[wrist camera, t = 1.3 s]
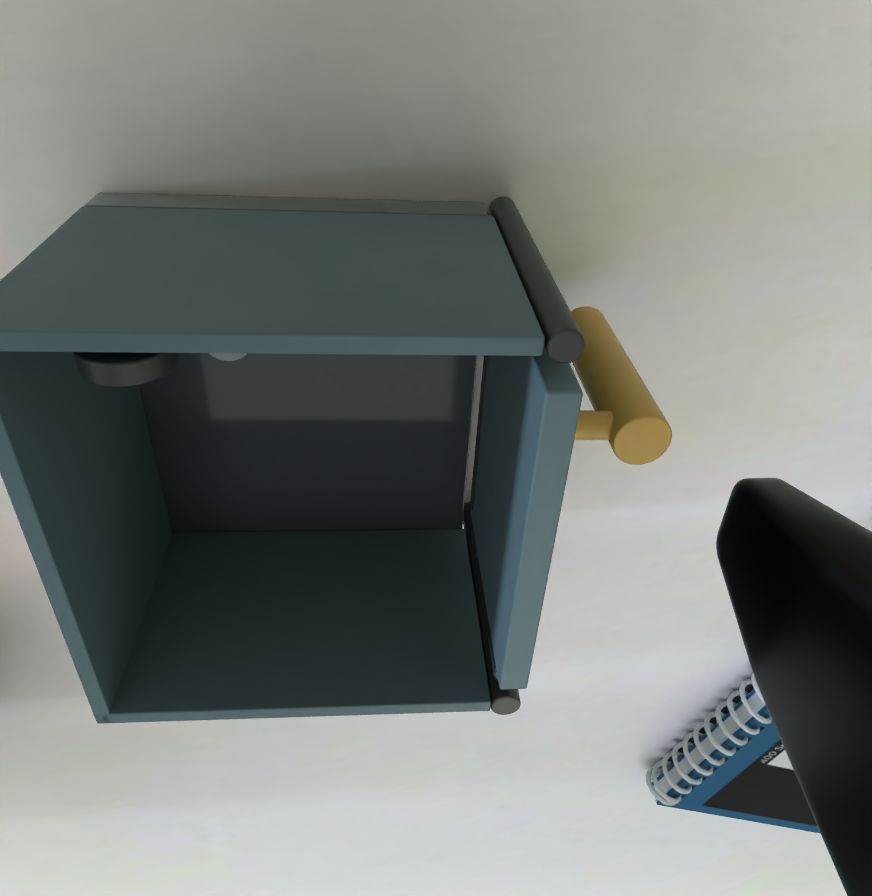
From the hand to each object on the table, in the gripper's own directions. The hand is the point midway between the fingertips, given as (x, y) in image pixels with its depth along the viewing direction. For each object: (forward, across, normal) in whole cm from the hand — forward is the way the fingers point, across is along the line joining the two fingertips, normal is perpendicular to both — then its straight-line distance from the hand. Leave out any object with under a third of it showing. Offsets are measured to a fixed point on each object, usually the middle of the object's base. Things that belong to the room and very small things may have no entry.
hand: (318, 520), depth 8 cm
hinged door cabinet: (+13, +2, +6) cm, 15 cm away
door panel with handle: (+12, -5, +6) cm, 14 cm away
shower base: (+13, +2, +6) cm, 15 cm away
